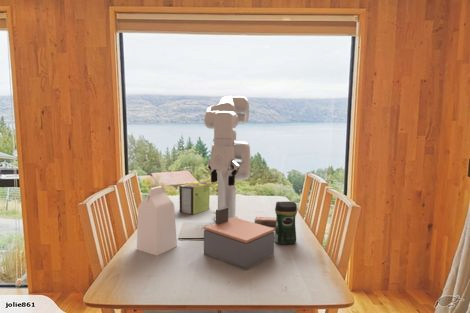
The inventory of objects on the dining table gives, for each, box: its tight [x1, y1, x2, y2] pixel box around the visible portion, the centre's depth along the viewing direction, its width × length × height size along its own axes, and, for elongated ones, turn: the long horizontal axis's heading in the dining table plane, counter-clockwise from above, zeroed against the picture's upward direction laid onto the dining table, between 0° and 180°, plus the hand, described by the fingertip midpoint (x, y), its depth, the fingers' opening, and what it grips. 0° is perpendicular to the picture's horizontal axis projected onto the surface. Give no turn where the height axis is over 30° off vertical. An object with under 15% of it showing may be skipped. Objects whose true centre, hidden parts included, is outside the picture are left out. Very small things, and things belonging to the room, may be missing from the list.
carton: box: [203, 229, 275, 271], centre depth 142 cm, size 22×18×10 cm
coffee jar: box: [274, 201, 298, 245], centre depth 156 cm, size 10×8×19 cm
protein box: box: [179, 181, 211, 216], centre depth 203 cm, size 10×15×16 cm
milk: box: [136, 185, 178, 256], centre depth 146 cm, size 12×12×26 cm
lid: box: [203, 207, 275, 243], centre depth 140 cm, size 22×18×7 cm
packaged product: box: [254, 216, 276, 229], centre depth 178 cm, size 18×5×10 cm
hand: (222, 183), depth 145 cm, fingers open, 9 cm apart
